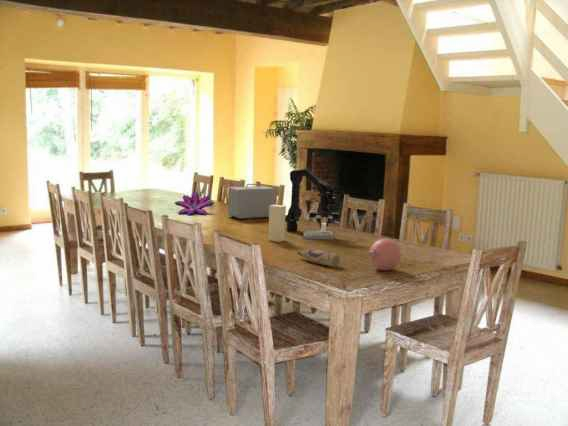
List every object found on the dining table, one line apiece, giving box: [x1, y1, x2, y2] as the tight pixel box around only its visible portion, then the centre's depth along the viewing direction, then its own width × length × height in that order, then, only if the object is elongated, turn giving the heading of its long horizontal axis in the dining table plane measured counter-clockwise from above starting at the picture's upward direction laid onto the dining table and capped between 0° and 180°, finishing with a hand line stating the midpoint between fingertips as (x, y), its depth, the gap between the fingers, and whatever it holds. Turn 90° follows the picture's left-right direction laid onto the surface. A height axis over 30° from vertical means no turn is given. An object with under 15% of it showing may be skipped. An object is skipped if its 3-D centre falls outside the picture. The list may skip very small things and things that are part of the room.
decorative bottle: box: [297, 248, 341, 268], centre depth 298 cm, size 26×8×7 cm, turn 44°
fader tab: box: [319, 222, 327, 233], centre depth 367 cm, size 4×5×6 cm
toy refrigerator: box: [267, 204, 287, 243], centre depth 350 cm, size 8×7×21 cm
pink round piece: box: [366, 238, 402, 271], centre depth 285 cm, size 15×20×15 cm
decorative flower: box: [174, 191, 215, 216], centre depth 447 cm, size 31×31×10 cm
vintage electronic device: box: [227, 183, 278, 221], centre depth 433 cm, size 32×18×25 cm, turn 121°
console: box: [302, 230, 335, 240], centre depth 367 cm, size 18×16×3 cm
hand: (323, 228), depth 367 cm, fingers closed on fader tab, 3 cm apart
